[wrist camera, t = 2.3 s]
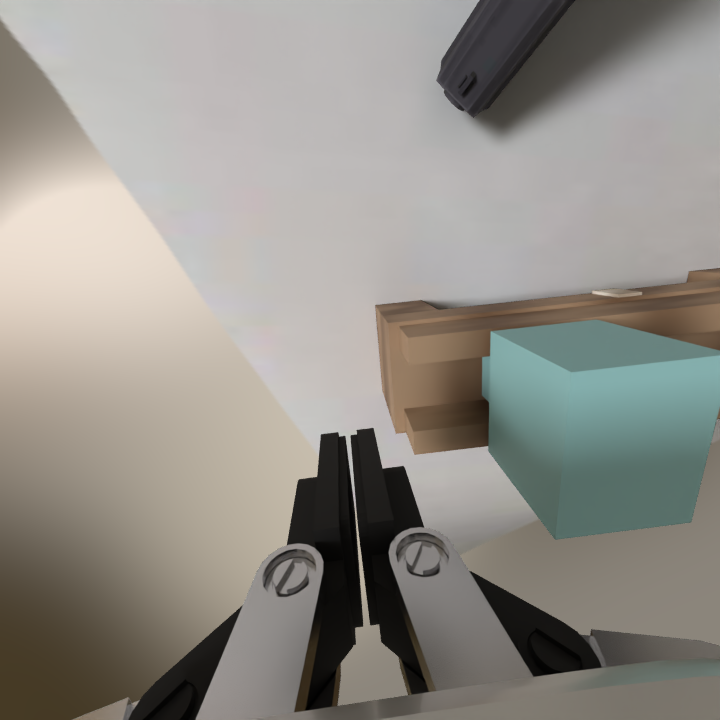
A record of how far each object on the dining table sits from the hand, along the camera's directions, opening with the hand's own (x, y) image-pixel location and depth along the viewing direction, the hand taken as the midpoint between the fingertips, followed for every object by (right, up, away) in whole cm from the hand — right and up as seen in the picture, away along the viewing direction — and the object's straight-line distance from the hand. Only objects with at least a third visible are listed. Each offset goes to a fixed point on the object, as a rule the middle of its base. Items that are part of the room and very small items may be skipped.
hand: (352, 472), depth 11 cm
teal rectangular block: (+8, +3, +6) cm, 10 cm away
